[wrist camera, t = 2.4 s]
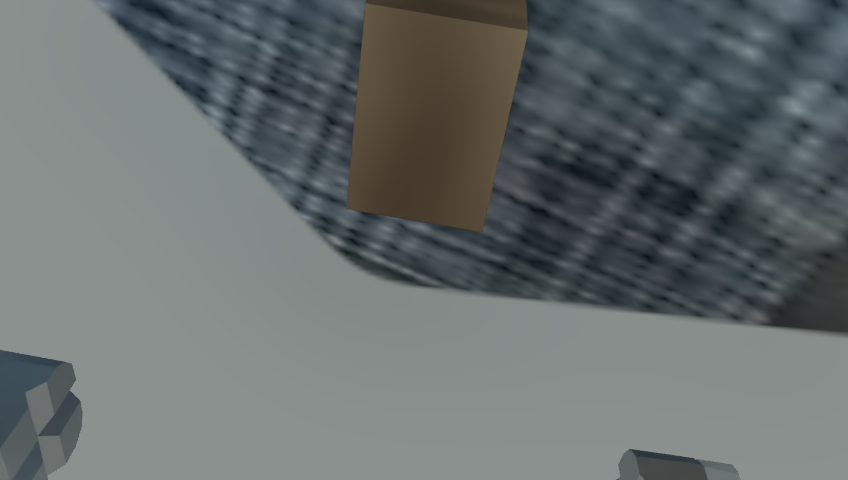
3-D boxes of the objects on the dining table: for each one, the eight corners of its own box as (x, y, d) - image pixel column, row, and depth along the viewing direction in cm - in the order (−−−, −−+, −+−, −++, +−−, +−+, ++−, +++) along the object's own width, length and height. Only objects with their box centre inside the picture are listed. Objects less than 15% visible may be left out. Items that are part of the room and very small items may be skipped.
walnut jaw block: (522, -49, 24) (528, 31, 18) (487, 114, 28) (482, 232, 21) (403, -70, 24) (365, 3, 18) (384, 96, 28) (346, 208, 21)
